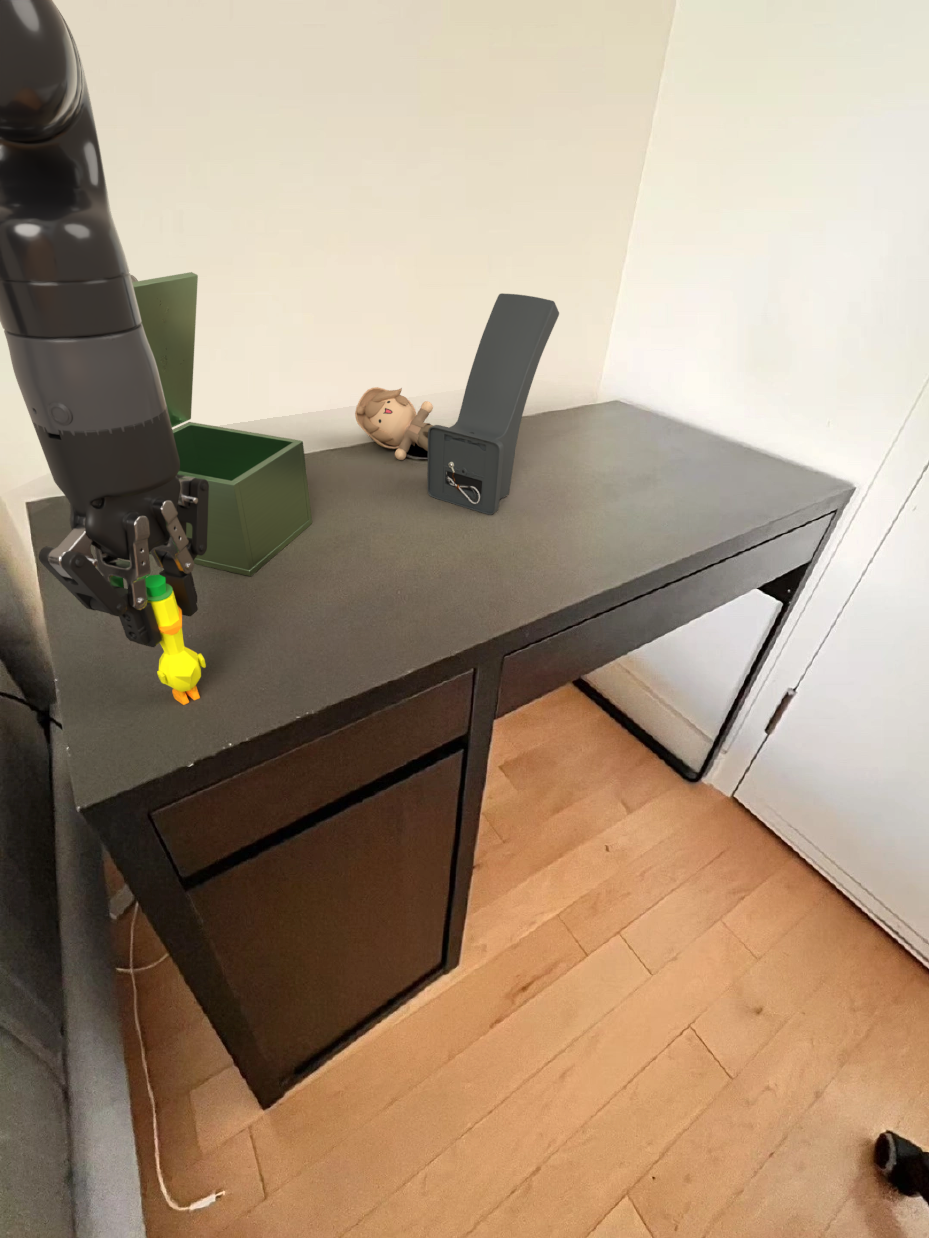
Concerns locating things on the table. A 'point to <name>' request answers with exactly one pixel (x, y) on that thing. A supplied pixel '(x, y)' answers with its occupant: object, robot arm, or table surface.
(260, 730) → the table surface
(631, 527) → the table surface
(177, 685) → the toy figure
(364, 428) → the action figure
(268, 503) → the bin
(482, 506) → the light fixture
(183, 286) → the bin lid
